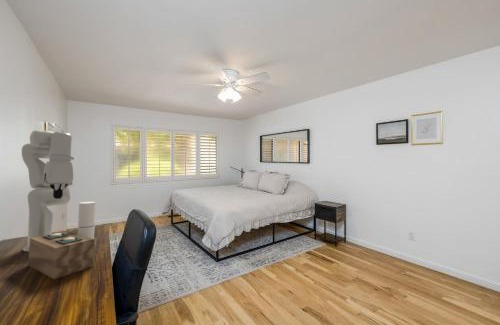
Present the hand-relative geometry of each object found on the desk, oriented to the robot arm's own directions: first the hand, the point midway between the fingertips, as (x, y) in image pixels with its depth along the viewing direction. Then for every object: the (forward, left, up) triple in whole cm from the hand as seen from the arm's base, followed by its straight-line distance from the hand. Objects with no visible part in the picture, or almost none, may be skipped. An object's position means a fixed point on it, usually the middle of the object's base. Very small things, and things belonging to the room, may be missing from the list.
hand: (57, 198), depth 105 cm
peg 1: (+2, -1, -28) cm, 28 cm away
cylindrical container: (-5, +15, -29) cm, 34 cm away
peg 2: (+14, -1, -28) cm, 32 cm away
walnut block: (+8, -1, -29) cm, 30 cm away
